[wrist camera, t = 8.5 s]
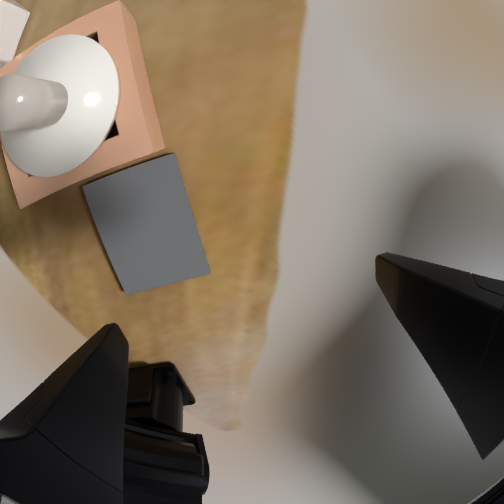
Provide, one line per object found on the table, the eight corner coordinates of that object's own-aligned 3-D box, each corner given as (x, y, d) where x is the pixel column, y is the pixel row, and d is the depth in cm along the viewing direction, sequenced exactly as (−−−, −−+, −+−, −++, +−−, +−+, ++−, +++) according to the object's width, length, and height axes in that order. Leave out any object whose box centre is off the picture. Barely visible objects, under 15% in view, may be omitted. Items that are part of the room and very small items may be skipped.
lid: (136, 143, 14) (101, 152, 9) (24, 194, 14) (-27, 221, 9) (108, 15, 10) (72, -20, 5) (-1, 79, 10) (-52, 77, 5)
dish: (165, 147, 18) (154, 152, 14) (48, 194, 17) (20, 209, 14) (135, 20, 13) (119, -1, 10) (21, 79, 13) (-9, 76, 10)
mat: (210, 269, 22) (210, 273, 21) (128, 290, 22) (126, 294, 21) (174, 152, 18) (173, 153, 17) (85, 184, 18) (82, 186, 17)
